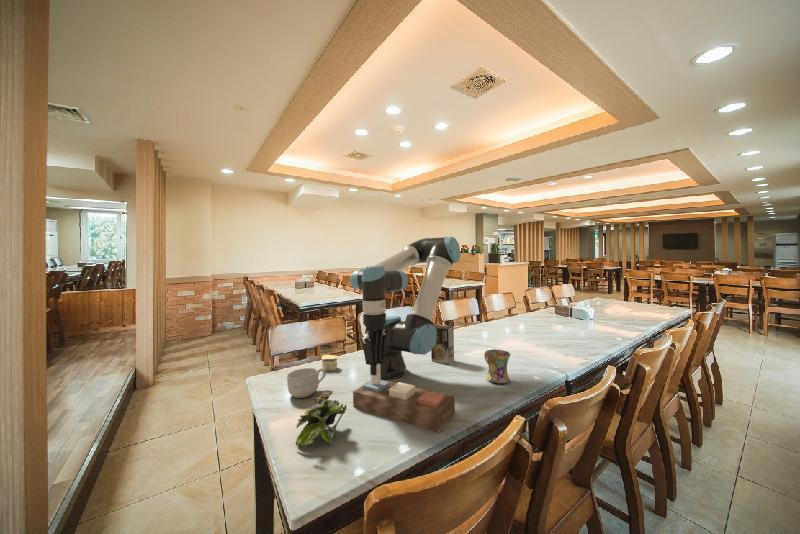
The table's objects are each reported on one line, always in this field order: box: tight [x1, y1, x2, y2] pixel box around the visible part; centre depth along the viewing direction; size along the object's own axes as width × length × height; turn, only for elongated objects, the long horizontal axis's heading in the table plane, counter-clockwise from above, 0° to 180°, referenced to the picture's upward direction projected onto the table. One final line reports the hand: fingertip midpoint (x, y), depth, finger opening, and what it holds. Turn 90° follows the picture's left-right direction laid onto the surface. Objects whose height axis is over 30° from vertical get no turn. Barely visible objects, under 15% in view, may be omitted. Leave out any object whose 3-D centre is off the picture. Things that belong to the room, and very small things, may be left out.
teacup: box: [286, 367, 327, 399], centre depth 108 cm, size 14×11×8 cm
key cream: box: [389, 381, 416, 400], centre depth 94 cm, size 6×6×4 cm
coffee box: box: [430, 323, 455, 365], centre depth 138 cm, size 9×6×16 cm
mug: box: [483, 349, 511, 384], centre depth 116 cm, size 12×9×11 cm
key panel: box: [352, 379, 456, 433], centre depth 94 cm, size 30×12×5 cm, turn 59°
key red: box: [418, 390, 445, 408], centre depth 89 cm, size 6×6×4 cm
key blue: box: [363, 380, 390, 393], centre depth 100 cm, size 6×6×4 cm
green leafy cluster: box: [295, 395, 348, 447], centre depth 80 cm, size 13×12×14 cm
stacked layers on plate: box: [321, 354, 338, 372], centre depth 132 cm, size 10×9×6 cm
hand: (376, 383), depth 99 cm, fingers closed
